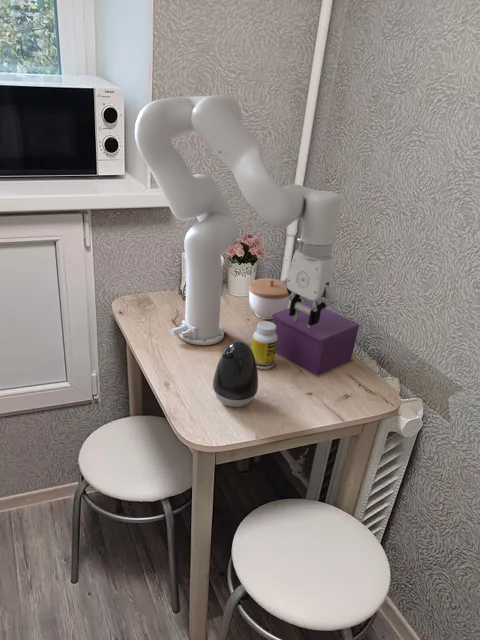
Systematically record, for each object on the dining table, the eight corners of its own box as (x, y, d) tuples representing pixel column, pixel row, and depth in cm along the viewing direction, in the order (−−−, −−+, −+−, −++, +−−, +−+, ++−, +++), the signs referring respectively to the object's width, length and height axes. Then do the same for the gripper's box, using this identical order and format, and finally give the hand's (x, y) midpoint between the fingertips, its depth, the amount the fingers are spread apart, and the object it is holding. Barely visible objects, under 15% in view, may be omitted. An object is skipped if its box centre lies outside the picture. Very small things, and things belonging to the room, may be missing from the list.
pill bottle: (267, 372, 131) (272, 333, 125) (245, 365, 134) (249, 326, 128) (277, 362, 135) (283, 324, 129) (256, 355, 138) (260, 317, 132)
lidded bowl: (252, 302, 166) (255, 269, 160) (291, 309, 162) (296, 276, 156) (241, 319, 156) (245, 284, 150) (283, 326, 152) (288, 291, 146)
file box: (317, 376, 131) (324, 341, 125) (269, 349, 141) (274, 316, 136) (351, 360, 138) (358, 327, 132) (303, 335, 148) (309, 303, 143)
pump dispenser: (202, 400, 120) (205, 342, 111) (230, 382, 126) (235, 326, 118) (237, 419, 114) (243, 359, 106) (264, 400, 121) (272, 342, 113)
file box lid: (321, 342, 125) (326, 320, 121) (272, 316, 135) (274, 296, 132) (359, 326, 132) (363, 305, 129) (309, 303, 143) (312, 283, 140)
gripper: (277, 240, 124) (268, 310, 134) (334, 262, 113) (320, 337, 123) (298, 235, 128) (288, 303, 138) (356, 256, 117) (340, 328, 127)
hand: (303, 318), depth 130 cm, fingers closed on file box lid, 5 cm apart
